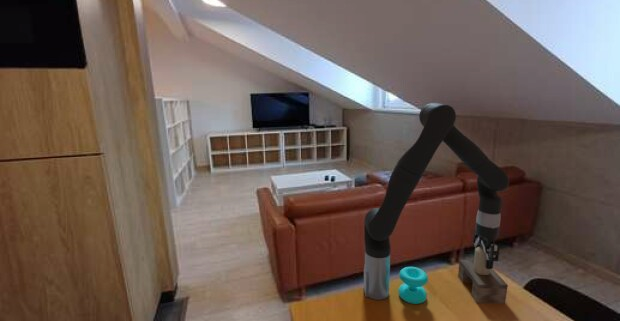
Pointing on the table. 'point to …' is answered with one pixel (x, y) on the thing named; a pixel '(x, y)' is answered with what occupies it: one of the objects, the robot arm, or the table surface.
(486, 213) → the robot arm
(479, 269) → the candle
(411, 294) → the turquoise spool
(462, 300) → the table surface
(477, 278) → the bridge
